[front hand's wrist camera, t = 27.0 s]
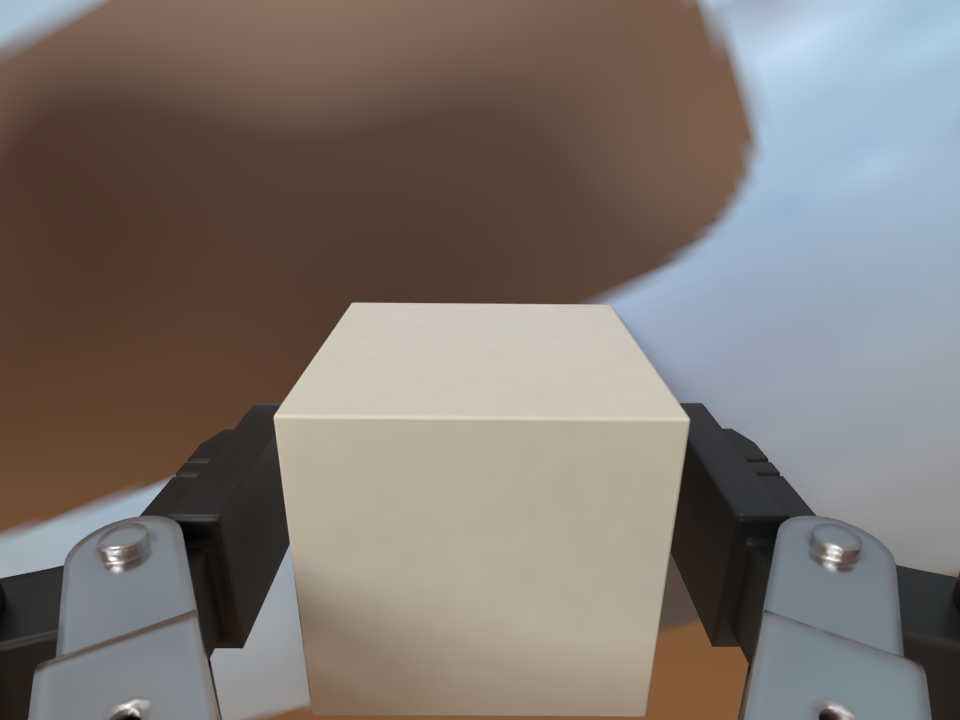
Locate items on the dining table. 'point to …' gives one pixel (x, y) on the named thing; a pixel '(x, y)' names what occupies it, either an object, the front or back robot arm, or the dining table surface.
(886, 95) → the dining table surface
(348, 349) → the block
